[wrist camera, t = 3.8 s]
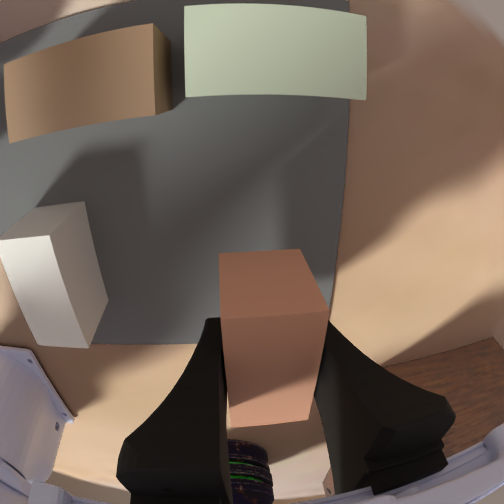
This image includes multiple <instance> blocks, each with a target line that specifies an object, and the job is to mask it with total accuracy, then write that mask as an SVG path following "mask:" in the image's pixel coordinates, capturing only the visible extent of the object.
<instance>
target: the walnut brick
mask: <svg viewBox="0 0 504 504" xmlns="http://www.w3.org/2000/svg"><path fill="white" fill-rule="evenodd" d="M4 91H5V107H6V119H7V129H8V138H9V144H10V143H14V142H17V141H21V140H24V139H28V138H32V137H36V136H40V135H44V134H48V133H53V132H57V131H62V130H66V129H71V128H76V127H81V126H86V125H92V124H98V123H103V122H109V121H116V120H123V119H130V118H137V117H145V116H153V115H158V114H161V113H164V112H167V111H170V110H173V97H172V65H171V41H170V40H169V39H168V38H167V37H166V36H165V35H164V34H163V33H162V32H161V31H160V30H159V29H158V28H157V27H156V26H155V25H154V24H153V23H151V24H144V25H138V26H132V27H127V28H121V29H116V30H112V31H107V32H103V33H98V34H94V35H90V36H86V37H82V38H79V39H75V40H71V41H68V42H65V43H61V44H58V45H55V46H52V47H49V48H46V49H43V50H40V51H37V52H34V53H31V54H29V55H26V56H23V57H21V58H18V59H16V60H13V61H11V62H8V63H6V64H4Z"/></svg>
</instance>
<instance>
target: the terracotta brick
mask: <svg viewBox="0 0 504 504" xmlns="http://www.w3.org/2000/svg"><path fill="white" fill-rule="evenodd" d="M219 285H220V318H221V330H222V341H223V352H224V362H225V372H226V382H227V392H228V401H229V410H230V419H231V427H247V426H259V425H269V424H278V423H287V422H294V421H302V420H308V417H309V413H310V408H311V404H312V400H313V395H314V391H315V386H316V381H317V377H318V372H319V367H320V362H321V357H322V352H323V347H324V341H325V336H326V330H327V325H328V319H329V313H330V310H329V308H328V306H327V303H326V301H325V299H324V297H323V295H322V293H321V291H320V289H319V287H318V285H317V283H316V281H315V278H314V276H313V274H312V272H311V270H310V268H309V266H308V264H307V262H306V260H305V258H304V256H303V254H302V252H301V250H300V249H287V250H268V251H249V252H231V253H219Z"/></svg>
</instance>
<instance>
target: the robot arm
mask: <svg viewBox="0 0 504 504" xmlns="http://www.w3.org/2000/svg"><path fill="white" fill-rule="evenodd" d="M314 398H315V401H316V403H317V406H318V409H319V412H320V416H321V419H322V424H323V428H324V433H325V438H326V443H327V448H328V453H329V459H330V465H331V471H332V477H333V485H334V492H335V495H334V496H329V497H325V498H320V499H315V500H309V501H303V502H298V503H291V504H474V503H475V502H477V501H479V500H480V499H482V498H484V497H485V496H487V495H488V494H490V493H491V492H493V491H494V490H496V489H498V488H499V487H500V486H502V485H503V484H504V423H503V424H501V425H500V426H498V427H496V428H495V429H493V430H492V431H491V432H490V433H488V434H487V436H486V437H485V438H484V440H483V441H481V442H479V443H477V444H475V445H473V446H471V447H469V448H467V449H465V450H463V451H461V452H459V453H457V454H455V455H453V456H450V457H448V458H446V457H445V455H444V453H443V451H442V449H443V448H444V443H443V441H442V438H443V437H444V435H445V434H446V433H447V432H448V430H449V429H450V428H451V426H452V425H453V423H454V421H455V418H456V415H455V413H454V411H453V409H452V407H451V405H450V404H449V402H448V401H447V399H446V398H445V397H444V396H442V395H439V394H436V393H433V392H430V391H427V390H425V389H422V388H420V387H418V386H415V385H413V384H411V383H409V382H407V381H405V380H403V379H401V378H399V377H398V376H396V375H394V374H392V373H391V372H389V371H387V370H386V369H384V368H383V367H381V366H380V365H378V364H377V363H375V362H374V361H373V360H371V359H370V358H369V357H367V356H366V355H365V354H363V353H362V352H361V351H360V350H359V349H358V348H356V347H355V346H354V345H353V344H352V343H351V342H350V341H349V340H348V339H347V338H346V337H344V336H343V335H342V334H341V333H340V332H339V331H338V330H337V329H336V328H335V327H334V326H333V325H332V324H331V322H330V321H329V320H328V325H327V330H326V336H325V341H324V347H323V352H322V357H321V362H320V367H319V372H318V377H317V381H316V386H315V391H314ZM226 412H227V382H226V372H225V362H224V352H223V341H222V330H221V318H220V317H214V318H207V319H206V320H205V324H204V328H203V331H202V334H201V337H200V339H199V342H198V344H197V346H196V349H195V351H194V353H193V355H192V357H191V359H190V361H189V363H188V365H187V367H186V368H185V370H184V372H183V374H182V375H181V377H180V379H179V380H178V382H177V383H176V385H175V386H174V388H173V389H172V390H171V392H170V393H169V394H168V396H167V397H166V398H165V400H164V401H163V402H162V403H161V404H160V406H159V407H158V408H157V409H156V410H155V411H154V412H153V413H152V414H151V415H150V416H149V418H148V419H147V420H146V421H145V422H144V423H143V424H142V425H140V426H139V427H138V428H137V429H136V430H135V431H134V432H132V433H131V434H130V435H129V436H128V437H127V438H125V440H124V442H123V445H122V448H121V451H120V454H119V458H118V465H117V473H116V477H117V479H118V480H119V481H120V483H121V484H122V485H123V486H124V487H125V488H126V489H127V490H128V491H129V492H130V493H131V501H130V504H233V497H232V487H231V477H230V466H229V455H228V443H227V430H226ZM74 420H75V419H74V417H73V416H72V414H71V413H70V411H69V410H68V408H67V407H66V406H65V404H64V403H63V401H62V400H61V398H60V397H59V395H58V393H57V392H56V390H55V389H54V387H53V386H52V384H51V382H50V381H49V379H48V378H47V376H46V374H45V373H44V371H43V369H42V367H41V366H40V364H39V362H38V360H37V359H36V357H35V355H34V353H33V352H32V351H31V350H29V349H25V348H16V347H7V346H0V504H113V503H106V502H100V501H95V500H89V499H85V498H80V497H75V496H72V495H71V494H70V493H69V492H68V491H66V490H65V489H63V488H60V487H58V486H54V485H51V484H47V483H44V482H45V481H46V480H47V479H48V478H49V476H50V475H51V473H52V470H53V467H54V463H55V459H56V455H57V451H58V448H59V444H60V440H61V437H62V433H63V430H64V426H65V423H66V422H68V423H73V422H74Z"/></svg>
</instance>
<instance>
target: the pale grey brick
mask: <svg viewBox="0 0 504 504" xmlns="http://www.w3.org/2000/svg"><path fill="white" fill-rule="evenodd" d="M0 257H1V260H2V263H3V266H4V268H5V271H6V274H7V277H8V279H9V282H10V284H11V287H12V289H13V292H14V294H15V297H16V299H17V301H18V304H19V306H20V308H21V311H22V313H23V315H24V317H25V319H26V322H27V324H28V326H29V328H30V330H31V332H32V334H33V336H34V338H35V340H36V342H37V344H38V345H41V346H54V347H70V348H89V347H90V344H91V342H92V339H93V337H94V334H95V332H96V329H97V327H98V324H99V322H100V320H101V317H102V315H103V312H104V310H105V308H106V305H107V303H108V301H109V300H108V297H107V293H106V290H105V286H104V283H103V279H102V275H101V272H100V268H99V264H98V260H97V256H96V252H95V248H94V244H93V239H92V235H91V231H90V226H89V221H88V216H87V211H86V206H85V201H81V202H73V203H65V204H57V205H50V206H43V207H36V208H34V209H33V210H31V211H30V212H29V213H28V214H26V215H25V216H24V217H23V218H21V219H20V220H19V221H18V222H17V223H15V224H14V225H13V226H12V227H11V228H9V229H8V230H7V231H6V232H5V233H4V234H2V235H1V236H0Z"/></svg>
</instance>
